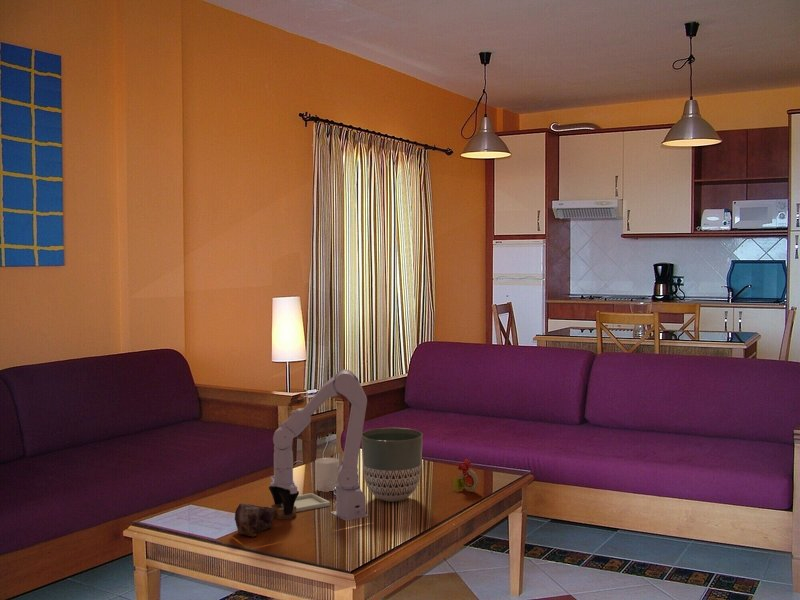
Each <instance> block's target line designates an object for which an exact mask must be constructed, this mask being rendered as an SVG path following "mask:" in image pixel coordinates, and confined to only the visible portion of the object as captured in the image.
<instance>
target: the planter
mask: <svg viewBox="0 0 800 600" xmlns="http://www.w3.org/2000/svg"><path fill="white" fill-rule="evenodd" d="M423 435H424V433H423V432H421V431H419V430H417V429H412V428H407V427H404V428H403V427H382V428H379V427H378V428H373V429H368V430H365V431H364V432H363V431H362V437H361V450H362V451H361V454H362V468H363V469H362V470H363V476H364V477H363V478H364V482H365V484H366V486H367V489H368V490H369V491H370V493H371V494H372V495H373V496H374V497H376V498H377V499H379V500H381V501H383V502H390V503H391V502H392V503H393V502H400V501H404V500H405V499H407V498H409V497H410V496H411V495H412V494H413V493H414V492H415V491H416V490H417V488H418V485H419V483H420V480H421V475H422V473H421V471H422V458H423V457H422V456H423V454H422V453H423V442H424V441H423Z"/></svg>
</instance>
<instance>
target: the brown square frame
mask: <svg viewBox="0 0 800 600" xmlns="http://www.w3.org/2000/svg"><path fill="white" fill-rule="evenodd" d="M270 508H271V509H272V511H273V519H277V518H278V520H286V519H285V518H288V519H291V518H290V517H292V518H294V517H297V512H296V506H295V505H294V507H293V511H292V514H289V515H285V513H284V508H281V503H280V504H275V503H274V504H271V507H270Z"/></svg>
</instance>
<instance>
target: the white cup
mask: <svg viewBox="0 0 800 600" xmlns="http://www.w3.org/2000/svg"><path fill="white" fill-rule="evenodd" d="M339 460H340V459H338V458H336V457H320V458H316V459H315V461H314V463H315V479H316V489H317V491H319V492H320V491H322V492H321V493H330V492H329V491H333V489H334V488H335V487H336V484H337V483H338V472H337V470H338V467H339V465H340V463H339ZM333 492H334V491H333Z"/></svg>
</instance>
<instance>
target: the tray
mask: <svg viewBox="0 0 800 600" xmlns="http://www.w3.org/2000/svg"><path fill="white" fill-rule="evenodd" d="M294 505H295V506H296V513H299V512H305V511H310V510H314V509H320V508H324V507H329V506H331V502H330V501H329V500H327V499H324V498H323V497H321V496H319V495H317V494H315V493H314V492H311V493H304V494H300V495H299V494H298V496H297V498H296V500H295V503H294Z"/></svg>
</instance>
